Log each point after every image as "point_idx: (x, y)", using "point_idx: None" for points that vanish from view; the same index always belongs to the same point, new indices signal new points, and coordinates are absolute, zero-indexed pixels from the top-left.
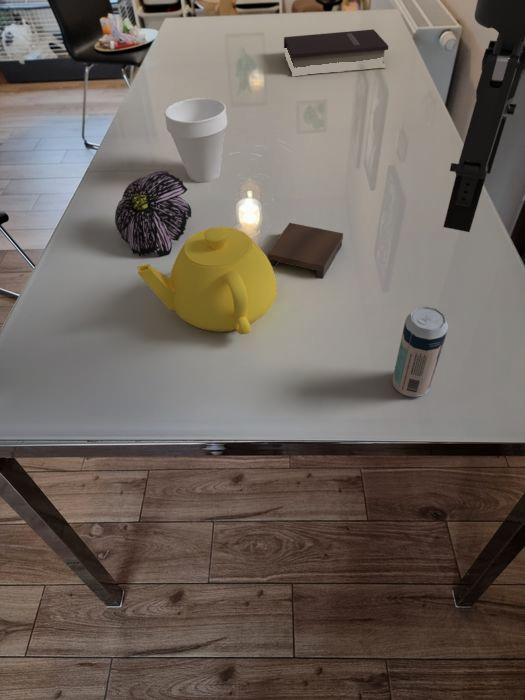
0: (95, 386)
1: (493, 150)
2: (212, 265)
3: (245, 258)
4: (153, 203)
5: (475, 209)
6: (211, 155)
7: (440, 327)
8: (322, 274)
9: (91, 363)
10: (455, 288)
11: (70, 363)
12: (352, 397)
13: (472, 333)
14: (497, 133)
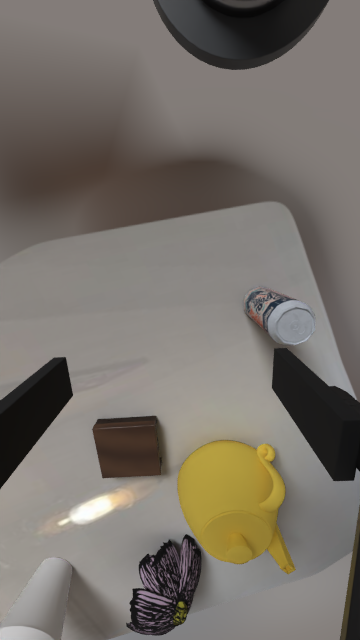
0: (342, 501)
1: (39, 386)
2: (269, 529)
3: (242, 509)
4: (174, 601)
5: (308, 369)
6: (48, 594)
7: (304, 309)
8: (155, 419)
9: (323, 515)
10: (107, 299)
11: (328, 526)
12: None
13: (168, 267)
14: (15, 413)
